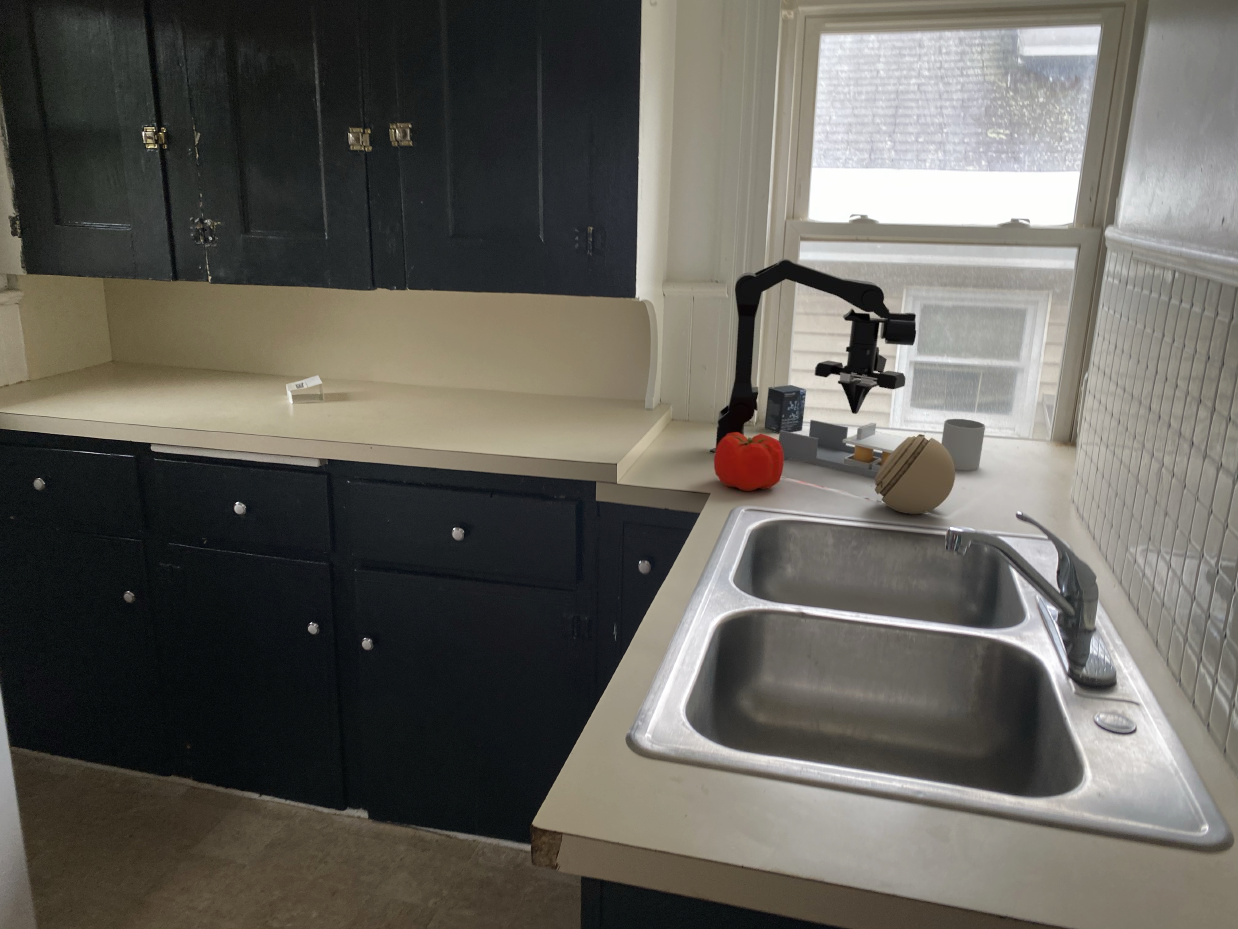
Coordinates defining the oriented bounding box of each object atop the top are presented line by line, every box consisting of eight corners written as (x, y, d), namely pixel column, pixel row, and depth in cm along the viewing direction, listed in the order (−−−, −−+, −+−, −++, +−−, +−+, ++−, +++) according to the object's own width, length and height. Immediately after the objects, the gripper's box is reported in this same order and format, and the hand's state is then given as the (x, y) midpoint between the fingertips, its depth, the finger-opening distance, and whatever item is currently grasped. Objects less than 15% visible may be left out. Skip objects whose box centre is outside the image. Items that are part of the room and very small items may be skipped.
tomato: (705, 490, 189) (708, 439, 186) (723, 473, 201) (726, 424, 198) (773, 501, 184) (777, 448, 181) (787, 482, 196) (792, 433, 193)
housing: (888, 484, 197) (892, 455, 196) (777, 457, 213) (779, 430, 211) (917, 469, 209) (921, 442, 207) (809, 445, 224) (812, 419, 222)
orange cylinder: (893, 474, 202) (896, 451, 201) (876, 470, 205) (879, 447, 203) (903, 471, 205) (905, 448, 203) (886, 466, 207) (888, 444, 206)
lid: (894, 453, 197) (895, 439, 196) (842, 442, 203) (843, 428, 203) (918, 442, 206) (920, 428, 205) (868, 432, 213) (869, 418, 212)
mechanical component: (916, 496, 191) (926, 423, 186) (966, 521, 177) (978, 443, 173) (852, 502, 186) (860, 427, 181) (898, 528, 172) (909, 448, 168)
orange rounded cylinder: (866, 468, 206) (869, 445, 204) (849, 464, 208) (852, 442, 207) (874, 464, 209) (877, 442, 207) (857, 460, 211) (860, 438, 210)
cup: (980, 465, 213) (986, 422, 211) (976, 475, 206) (983, 430, 203) (940, 459, 217) (946, 416, 214) (936, 469, 210) (942, 424, 207)
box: (779, 434, 233) (783, 391, 230) (763, 428, 238) (767, 386, 235) (803, 430, 238) (807, 388, 235) (787, 425, 242) (791, 384, 239)
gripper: (920, 344, 205) (910, 415, 210) (840, 332, 216) (833, 400, 221) (898, 350, 197) (889, 423, 201) (817, 337, 208) (809, 407, 213)
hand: (854, 413), depth 209 cm, fingers closed
